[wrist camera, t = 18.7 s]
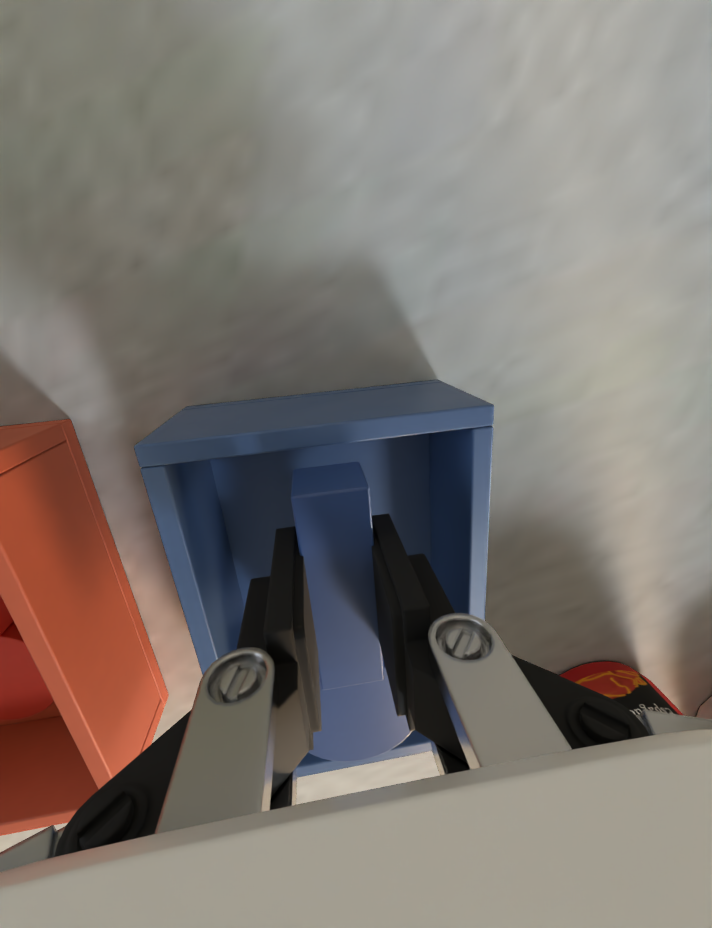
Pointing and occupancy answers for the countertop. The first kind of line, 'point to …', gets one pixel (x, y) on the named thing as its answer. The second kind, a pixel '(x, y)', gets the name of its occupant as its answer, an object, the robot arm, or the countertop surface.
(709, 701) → the toilet tissue
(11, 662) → the red spoon
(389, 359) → the countertop surface
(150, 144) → the countertop surface
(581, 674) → the canned food
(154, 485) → the blue bin
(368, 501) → the blue spoon
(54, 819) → the terracotta bin
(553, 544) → the countertop surface
